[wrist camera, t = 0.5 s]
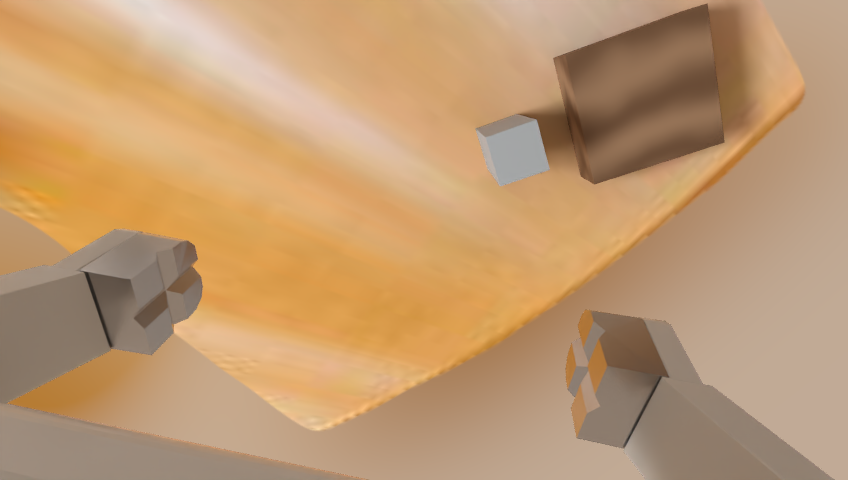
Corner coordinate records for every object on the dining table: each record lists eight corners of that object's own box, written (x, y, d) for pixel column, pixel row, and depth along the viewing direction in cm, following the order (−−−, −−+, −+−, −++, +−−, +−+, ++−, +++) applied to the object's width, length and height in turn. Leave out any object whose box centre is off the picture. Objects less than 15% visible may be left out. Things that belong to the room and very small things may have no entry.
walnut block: (552, 58, 49) (565, 55, 44) (679, 12, 47) (707, 3, 42) (579, 175, 53) (594, 184, 48) (697, 137, 51) (724, 142, 47)
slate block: (487, 169, 53) (500, 186, 43) (475, 128, 51) (485, 137, 42) (528, 155, 52) (549, 169, 42) (516, 114, 50) (536, 119, 41)
